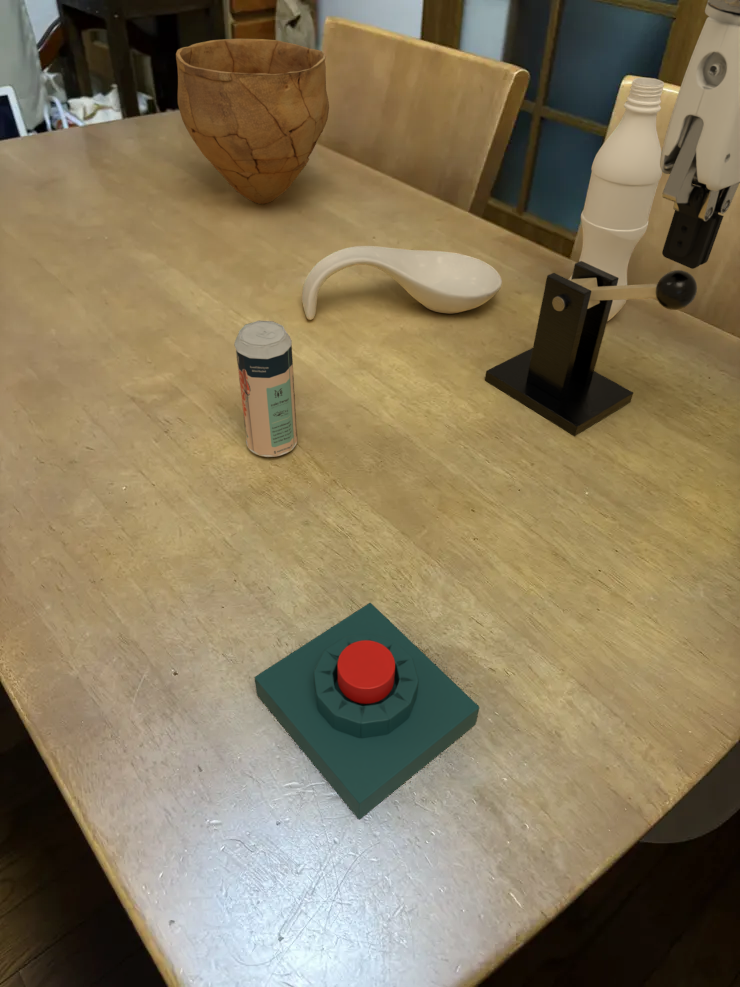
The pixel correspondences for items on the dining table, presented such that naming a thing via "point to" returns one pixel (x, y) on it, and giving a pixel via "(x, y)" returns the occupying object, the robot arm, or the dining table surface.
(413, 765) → the button block
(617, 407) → the bracket
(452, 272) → the spoon rest
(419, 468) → the dining table surface
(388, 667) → the button
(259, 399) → the beer can
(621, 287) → the switch lever
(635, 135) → the water bottle
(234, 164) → the bowl
